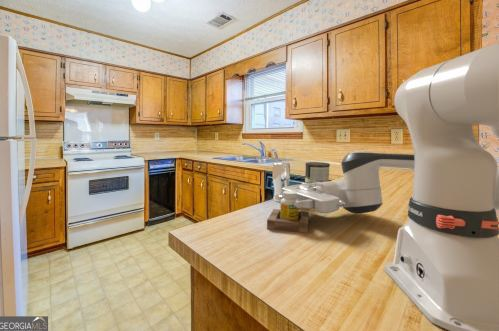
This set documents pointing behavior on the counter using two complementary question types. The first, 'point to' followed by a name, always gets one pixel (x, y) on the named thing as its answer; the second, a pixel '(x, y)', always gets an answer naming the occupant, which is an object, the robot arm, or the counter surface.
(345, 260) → the counter surface
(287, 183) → the beer glass
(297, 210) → the supplement bottle
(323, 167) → the coffee can
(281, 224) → the bottle holder
